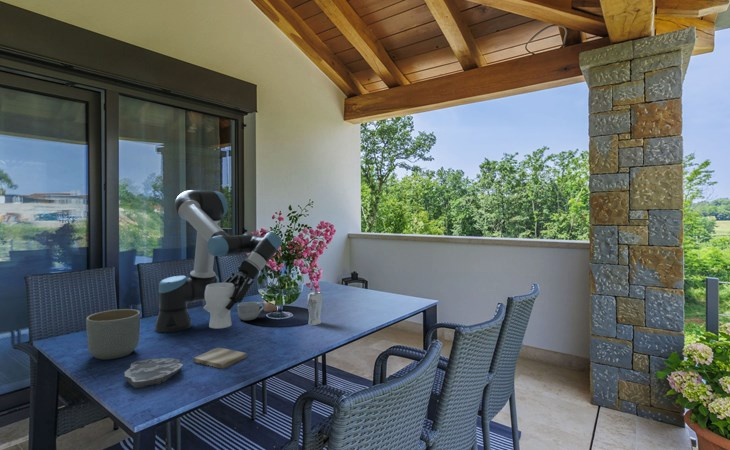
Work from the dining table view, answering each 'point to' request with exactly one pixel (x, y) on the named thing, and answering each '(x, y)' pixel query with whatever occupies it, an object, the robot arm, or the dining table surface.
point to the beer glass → (314, 307)
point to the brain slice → (152, 371)
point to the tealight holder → (269, 307)
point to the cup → (218, 303)
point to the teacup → (249, 310)
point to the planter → (113, 333)
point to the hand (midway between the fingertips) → (212, 313)
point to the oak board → (220, 357)
